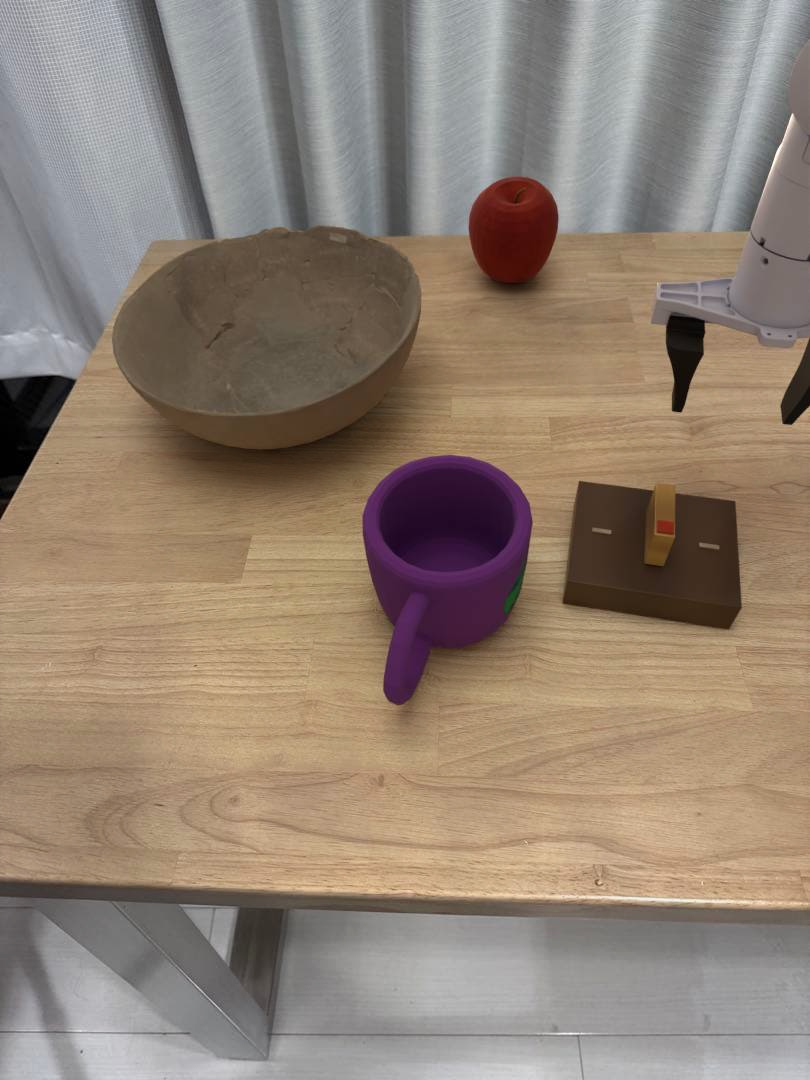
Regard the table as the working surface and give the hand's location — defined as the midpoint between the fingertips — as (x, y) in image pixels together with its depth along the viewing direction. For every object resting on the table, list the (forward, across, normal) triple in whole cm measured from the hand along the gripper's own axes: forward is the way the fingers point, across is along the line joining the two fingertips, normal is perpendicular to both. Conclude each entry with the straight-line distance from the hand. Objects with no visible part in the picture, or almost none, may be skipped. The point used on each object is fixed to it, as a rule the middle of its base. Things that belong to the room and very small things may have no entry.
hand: (730, 409), depth 53 cm
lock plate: (+9, -4, -8) cm, 13 cm away
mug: (+10, -19, -17) cm, 27 cm away
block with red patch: (+6, -4, -8) cm, 11 cm away
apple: (+10, -20, +30) cm, 37 cm away
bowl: (+10, -39, +7) cm, 41 cm away
